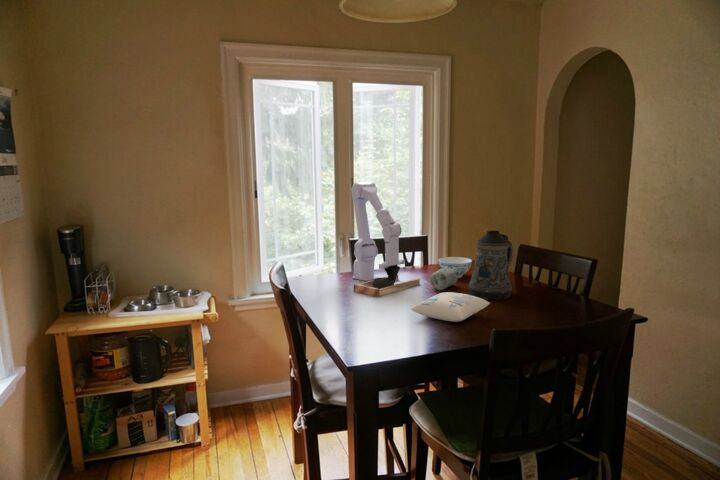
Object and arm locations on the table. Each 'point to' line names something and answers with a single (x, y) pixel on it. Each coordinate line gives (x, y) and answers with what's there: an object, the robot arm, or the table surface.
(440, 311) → the pouch
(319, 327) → the table surface
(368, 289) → the guide track
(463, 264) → the chinaware
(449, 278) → the streaked ceramic egg
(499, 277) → the beer stein
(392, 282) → the smart speaker
